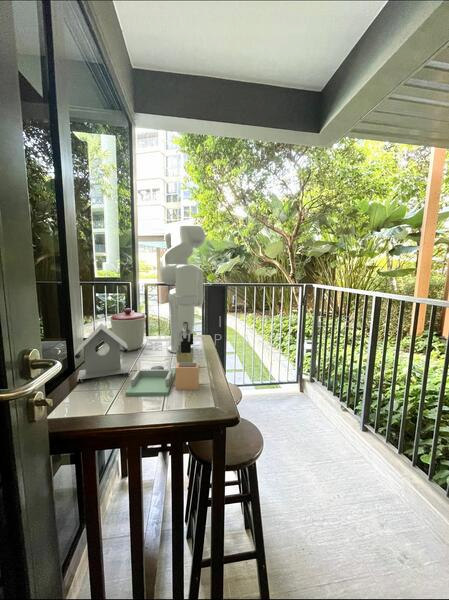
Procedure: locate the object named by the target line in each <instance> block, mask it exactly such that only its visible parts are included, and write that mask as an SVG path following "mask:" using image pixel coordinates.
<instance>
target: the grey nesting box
mask: <svg viewBox="0 0 449 600" xmlns="http://www.w3.org/2000/svg"><path fill="white" fill-rule="evenodd" d="M101 341H103V342H104V344H106V345H108V348H109V350H108V352H107V353H106V354H104V355H102V354H98V353H97V352H96V348H97V345H99V344H101ZM120 344H121V345H122V347H123V351H122V352H123V353H124V354H128V353H129V351H128V347H127V344H126V342H124V341H123V340H122V339H120V338H119V337H118V336H117V335H115V334H114V333H113V332H112V330H110V329H109V328H108V327H106V326H105V325H104V324H103V323H100V324H99V325H98V326H97V327H96V328H95V330H94V331H93V332H92V333H91V334H90V335H89V336H88V337H86V339H84V341H83V342H82V343H81V344H79V346H78V347H77V348H76V350H75V354H74V359H75V360H80V358H81V356H82V351H83V350H84V354H83V355H84V366H85V367H84V368H85V369H80V370H78V373H79V374H77V379H76V381H77V380H79V379H80V381H79V382H81V380H82V381H83V380H85V379H91V378H92V379H93V378H99V377H106V376H113V375H119V374H120V375H121V374H123V376H124V377H125V378H127V377H129V376H130V372H129V368H128V365H127V364H125V363H124V364H122V363H121V350H120Z"/></svg>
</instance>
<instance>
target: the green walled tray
mask: <svg viewBox="0 0 449 600" xmlns="http://www.w3.org/2000/svg"><path fill="white" fill-rule="evenodd" d="M174 379H175V368H171V369H170V368H164V366H161V365H155V366H152V367H151V368H150V369H149V368H148V369H147V368H145V369H144V368H143V369H138V370H136V372H135V373H134V374H133V376H132V377H131V378H130V385H129V387H128V388H127V390H126V391H125V396H126V397H132V396H133V397H143V396H144V397H147V396H149V397H150V396H151V397H152V396H153V397H154V396H155V397H157V396H160V397H161V396H162V397H163V396H169V394H170V390H171V387H172V385H173V383H174V382H173V381H174Z"/></svg>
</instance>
